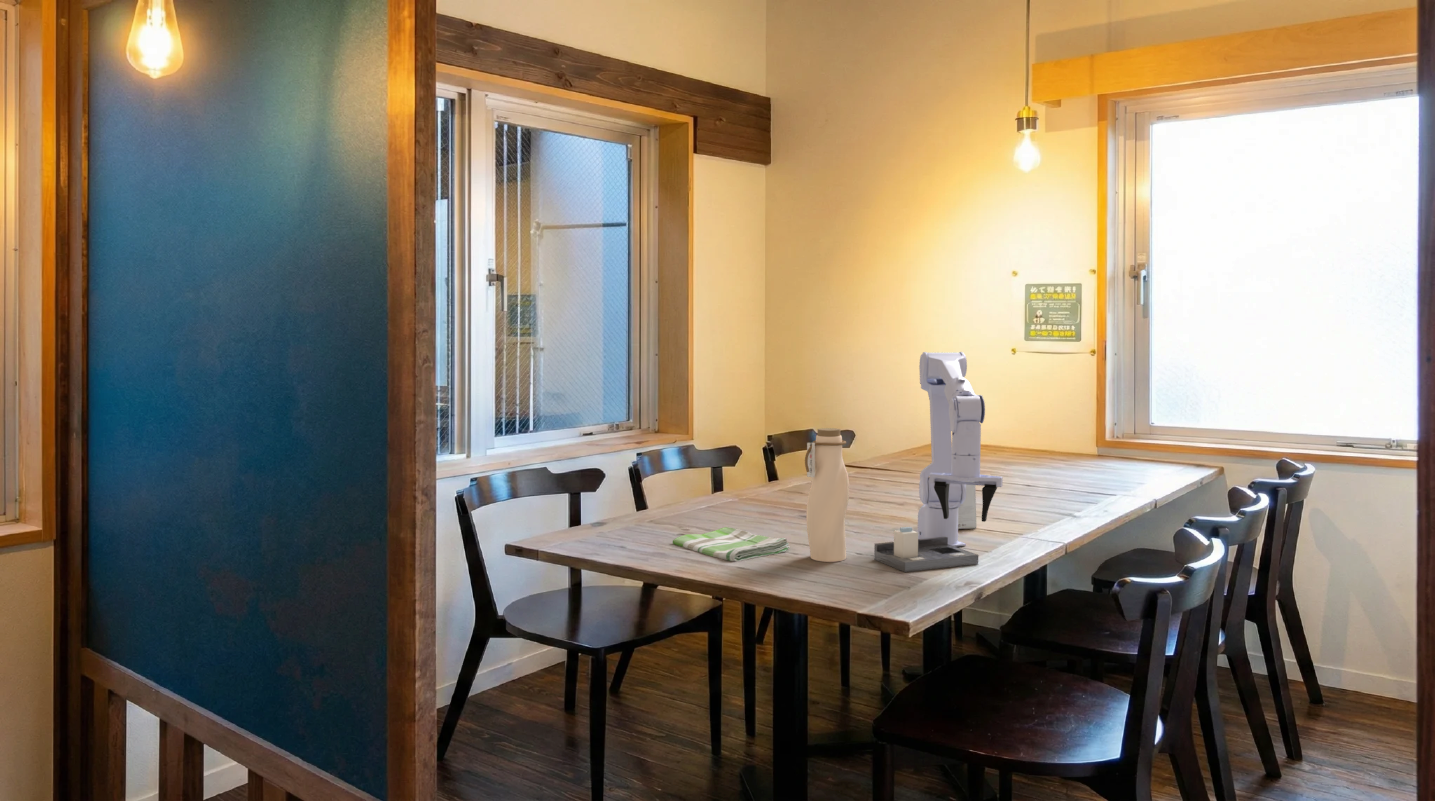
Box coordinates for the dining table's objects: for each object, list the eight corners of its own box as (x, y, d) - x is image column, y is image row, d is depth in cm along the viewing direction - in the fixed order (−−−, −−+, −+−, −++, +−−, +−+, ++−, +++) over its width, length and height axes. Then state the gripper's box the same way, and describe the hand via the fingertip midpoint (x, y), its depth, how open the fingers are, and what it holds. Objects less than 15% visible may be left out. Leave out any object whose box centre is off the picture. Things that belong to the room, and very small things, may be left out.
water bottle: (822, 565, 209) (823, 432, 207) (794, 557, 216) (794, 429, 214) (858, 558, 215) (858, 429, 213) (829, 551, 222) (830, 426, 220)
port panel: (874, 559, 214) (874, 543, 214) (944, 552, 221) (945, 536, 221) (905, 572, 203) (905, 555, 203) (978, 564, 210) (978, 547, 210)
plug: (893, 563, 211) (894, 526, 211) (908, 561, 213) (908, 525, 212) (903, 566, 208) (903, 530, 207) (917, 565, 209) (918, 528, 209)
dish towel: (732, 564, 212) (732, 548, 212) (670, 546, 230) (670, 531, 230) (792, 553, 223) (792, 537, 222) (728, 536, 241) (728, 522, 241)
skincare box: (976, 528, 246) (977, 469, 245) (954, 529, 245) (955, 469, 244) (962, 522, 254) (963, 464, 253) (940, 523, 253) (940, 465, 252)
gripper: (926, 454, 204) (926, 520, 205) (1000, 458, 198) (998, 525, 199) (933, 450, 210) (932, 514, 211) (1004, 453, 205) (1003, 519, 206)
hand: (964, 519), depth 206 cm, fingers open, 7 cm apart
